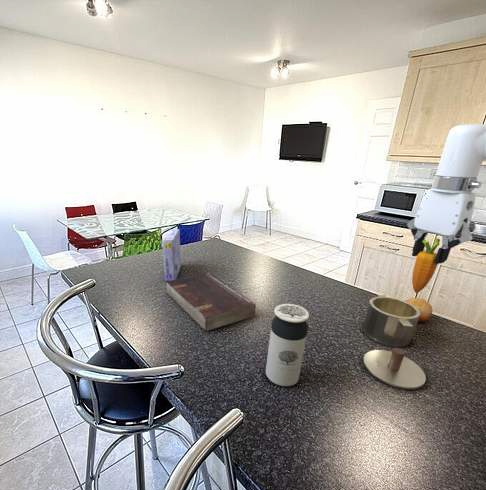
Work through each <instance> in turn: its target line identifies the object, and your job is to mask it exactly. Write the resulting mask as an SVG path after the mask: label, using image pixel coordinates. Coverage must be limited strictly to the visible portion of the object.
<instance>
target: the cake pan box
mask: <svg viewBox="0 0 486 490" xmlns="http://www.w3.org/2000/svg"><path fill="white" fill-rule="evenodd" d="M180 233H181V232H180V229H179V228H175V229H174V228H173V229H169V230H168V231H167V233H166V234H165V236H164V237H163V239H162V240H161V242H162V243H161V244H162V253H163V255H162V257H163V269H164V281H171V280H176V279H178V278H177V277H178V275H179V273H180V270H181V267H182V254H181V253H182V252H181V236H180V235H181V234H180Z"/></svg>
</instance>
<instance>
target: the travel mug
mask: <svg viewBox="0 0 486 490" xmlns="http://www.w3.org/2000/svg"><path fill="white" fill-rule="evenodd" d="M273 311H274V315H275V316H274V318H272V320H271V325H270V334H269V343H268V350H267V357H266V366H265V375H266V377H267V379H268V380H269V381H270V382H272V383H274V384H275V385H278V386H281V387H291V386H294V385H295V384H297V383H298V382H299V380H300V375H301V369H302V364H303V358H304V355H305V354H304V353H305V347H306V342H307V338H308V332H309V325H308V323H307V321H308V320H309V318H310V313H309V311H308V310H307V309H306V308H304V307H302V306H300V305H298V304H295V303H294V304H293V303H281V304H278V305H276V307H275V308H274V310H273Z"/></svg>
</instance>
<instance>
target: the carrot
mask: <svg viewBox="0 0 486 490" xmlns="http://www.w3.org/2000/svg"><path fill="white" fill-rule="evenodd" d="M422 242H423V243H424V245H425V247H424V248H425V250H424V251H421V252H419V253H418V255H417V256H416V259H415V262H414V265H413V270H412V279H411V283H412V289H413V292H414V293H415V294H418V293H420V292H421V291H422V290H423V289H424V288H425V287H427V285H428V284H429V283H430V281H431V280H432V278H433V277H434V275H435V272H436V270H437V268H438V265H439V264H436V263H434V260H435V257H436V255H437V252H435V251H436V249H437V248H438V247H439V246H440V242H441V238H439V237H437V238H435V240H434V243H433V245H431V244H430V242H429V240H426V241H424V240H423V241H422Z"/></svg>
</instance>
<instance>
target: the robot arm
mask: <svg viewBox="0 0 486 490" xmlns="http://www.w3.org/2000/svg"><path fill="white" fill-rule="evenodd" d="M483 162H486V124H484V123H470V124H469V123H468V124H459V125H454V126H453V127H452V128H450V130H449V132H448V134H447V137H446V140H445V143H444V147H443V150H442V153H441V156H440V160H439V163H438V165H437V168H436V172H435V176H434V178H433V180H432V181H433V182H432V185H431V188H428V190H427V191H426V193H425V195H424V196H423V199H422V200H421V202H420V204H419V207H418V210H417V212H416V215H415V217H414V218H412V219H410V221H408V222H407V223H406V226H407V227H408V229H409V230H410V233H411V235H412V236H413V241H414V243H413V247H412V250H411V251H412V253H411V256H412V257H417V255H418V253H419V252H421V251H425V248H426V247H425V245H424V243H423V242H422V241H423V240H424V241H427V240H426V237H427V236H428V235H429V233H431V234H435V235H439V236H442V237H441V247H439V248H438V249H437V252H436V254H437V255H436V257H435V260H434V263H436V264H438V265H439V264H445V262H446V261H447V260H448V258H449V256H450V253H451V249H454V248H455V247H458V246H460V245H462V244H464V243H467V242H470V241H472V240H473V235H472V233H471V231H470V224H471V221H472V218H473V214H474V209H475V204H476V195H477V194H476V192H473V191H474V189H480V188H481V187H482V185H483V183H482V181H478V176H479V174H480V171H481V167H482V165H483ZM456 236H460V237H458V238H456Z"/></svg>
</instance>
